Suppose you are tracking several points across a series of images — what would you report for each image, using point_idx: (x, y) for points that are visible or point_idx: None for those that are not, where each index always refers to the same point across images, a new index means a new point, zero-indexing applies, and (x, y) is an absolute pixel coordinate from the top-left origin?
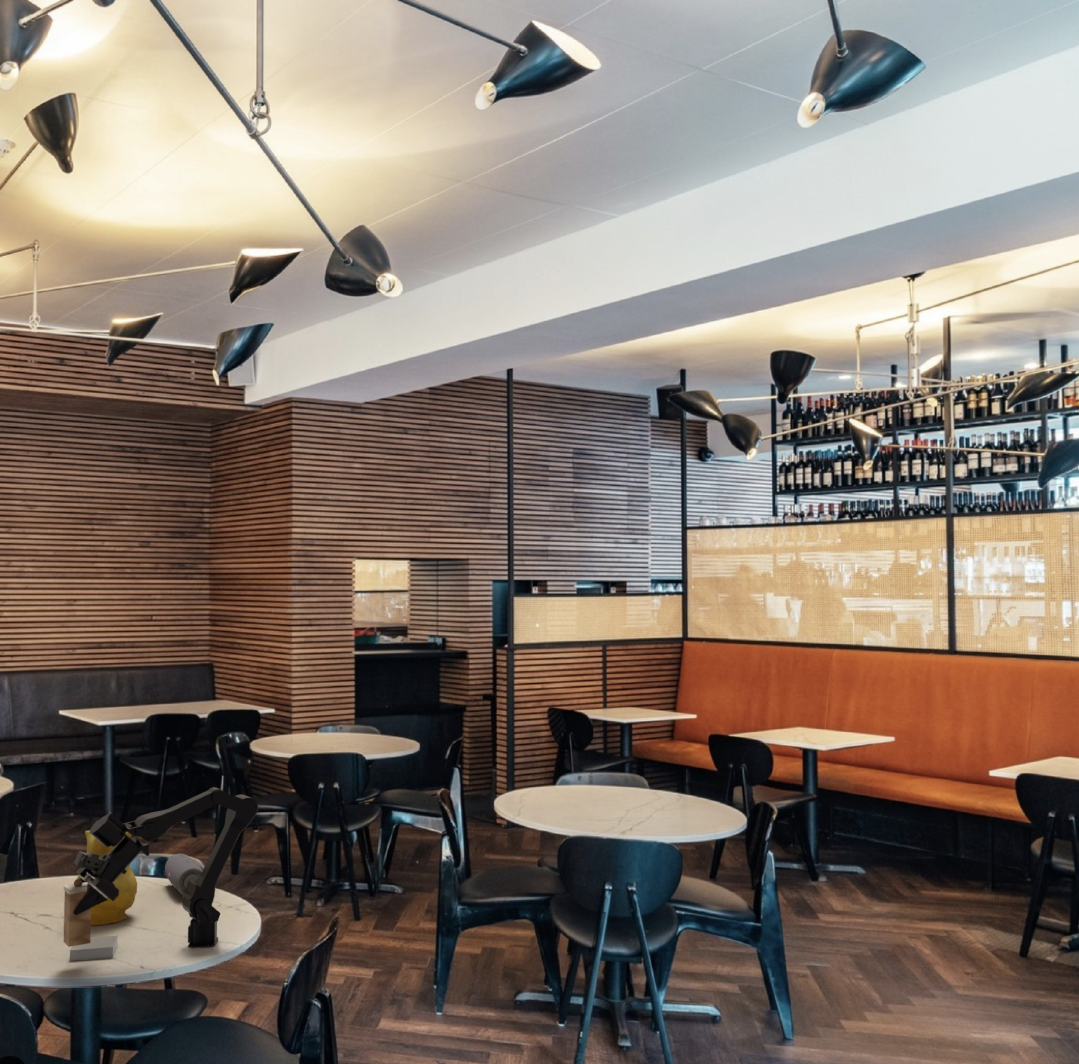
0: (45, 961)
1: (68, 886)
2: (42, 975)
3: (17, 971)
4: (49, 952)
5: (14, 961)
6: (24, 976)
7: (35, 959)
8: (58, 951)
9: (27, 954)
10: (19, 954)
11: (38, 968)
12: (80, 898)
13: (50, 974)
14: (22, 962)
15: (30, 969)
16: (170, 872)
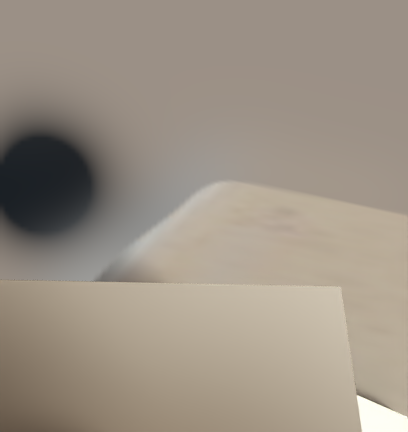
0: (294, 283)
1: (199, 347)
2: (161, 244)
3: (241, 199)
4: (386, 317)
5: (339, 212)
6: (185, 204)
7: (330, 263)
8: (385, 346)
9: (393, 256)
10: (403, 238)
11: (235, 250)
12: None
13: (155, 264)
14: (318, 227)
15: (239, 230)
16: None
